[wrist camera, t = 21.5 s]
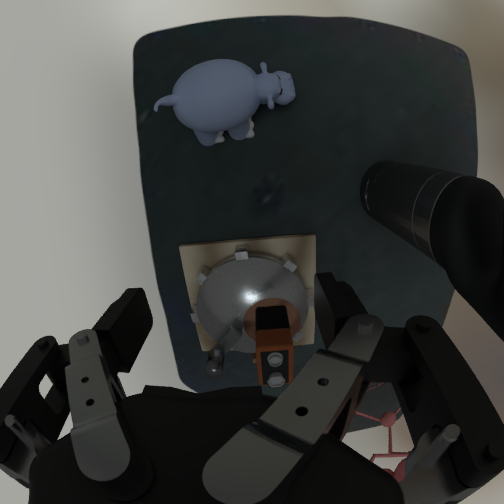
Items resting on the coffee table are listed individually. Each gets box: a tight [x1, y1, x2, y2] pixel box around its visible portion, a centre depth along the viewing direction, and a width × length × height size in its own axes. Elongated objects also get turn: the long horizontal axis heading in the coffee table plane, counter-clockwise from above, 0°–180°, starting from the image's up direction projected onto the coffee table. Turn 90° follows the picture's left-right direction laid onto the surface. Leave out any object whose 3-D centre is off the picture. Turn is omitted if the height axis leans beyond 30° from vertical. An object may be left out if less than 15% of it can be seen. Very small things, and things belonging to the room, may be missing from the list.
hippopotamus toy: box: [154, 59, 295, 146], centre depth 27 cm, size 11×15×10 cm
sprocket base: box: [179, 233, 316, 363], centre depth 40 cm, size 19×20×4 cm
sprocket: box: [190, 245, 314, 378], centre depth 37 cm, size 20×18×7 cm
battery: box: [255, 305, 294, 387], centre depth 34 cm, size 4×7×10 cm, turn 5°
